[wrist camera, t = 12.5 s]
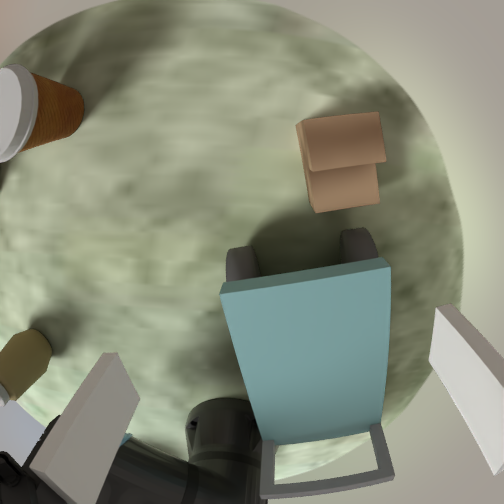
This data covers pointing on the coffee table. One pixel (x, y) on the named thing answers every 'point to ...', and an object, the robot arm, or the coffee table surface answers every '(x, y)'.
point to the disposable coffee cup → (34, 110)
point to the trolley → (313, 354)
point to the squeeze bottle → (22, 363)
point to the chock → (341, 160)
